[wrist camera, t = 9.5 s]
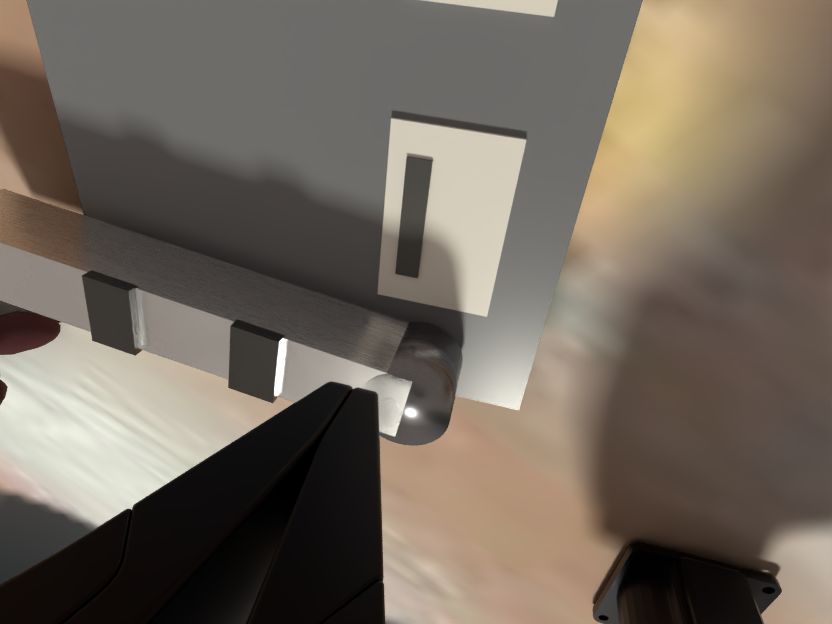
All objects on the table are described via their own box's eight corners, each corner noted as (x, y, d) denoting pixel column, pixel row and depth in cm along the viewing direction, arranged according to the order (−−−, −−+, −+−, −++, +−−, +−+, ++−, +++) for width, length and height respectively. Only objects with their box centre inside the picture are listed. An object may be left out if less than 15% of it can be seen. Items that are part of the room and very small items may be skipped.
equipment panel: (519, 394, 20) (518, 415, 18) (127, 304, 22) (105, 319, 21) (753, -397, 9) (783, -457, 8) (-47, -411, 11) (-109, -457, 10)
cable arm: (473, 337, 17) (460, 398, 14) (450, 398, 18) (434, 463, 16) (1, 182, 18) (-98, 209, 15) (18, 252, 20) (-68, 289, 17)
